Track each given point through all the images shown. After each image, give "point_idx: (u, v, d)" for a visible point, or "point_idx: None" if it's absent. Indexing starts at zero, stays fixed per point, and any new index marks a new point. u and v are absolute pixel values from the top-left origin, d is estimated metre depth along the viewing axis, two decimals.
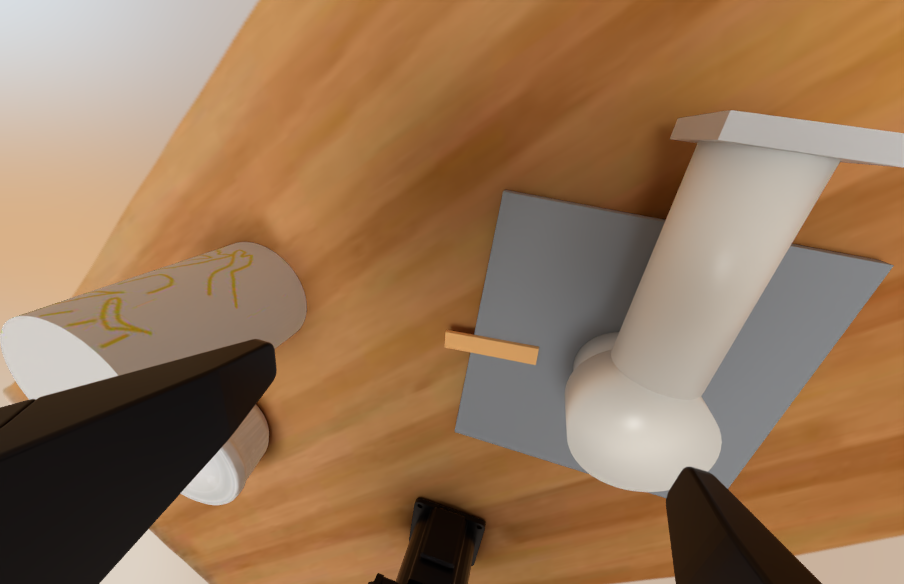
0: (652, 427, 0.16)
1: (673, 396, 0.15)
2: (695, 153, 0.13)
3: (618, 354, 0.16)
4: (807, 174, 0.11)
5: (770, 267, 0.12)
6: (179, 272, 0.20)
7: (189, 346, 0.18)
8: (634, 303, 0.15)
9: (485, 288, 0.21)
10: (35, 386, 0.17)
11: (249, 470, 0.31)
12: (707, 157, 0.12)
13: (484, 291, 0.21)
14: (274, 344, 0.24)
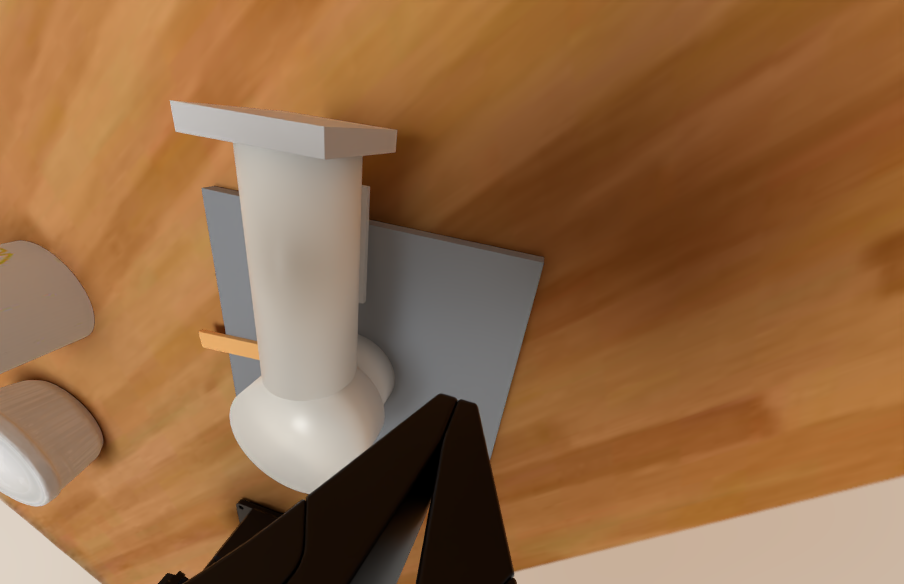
0: (293, 429, 0.15)
1: (285, 397, 0.14)
2: None
3: None
4: (278, 167, 0.10)
5: (305, 264, 0.12)
6: None
7: None
8: None
9: (219, 287, 0.21)
10: None
11: (66, 471, 0.31)
12: None
13: (219, 290, 0.21)
14: (39, 344, 0.24)
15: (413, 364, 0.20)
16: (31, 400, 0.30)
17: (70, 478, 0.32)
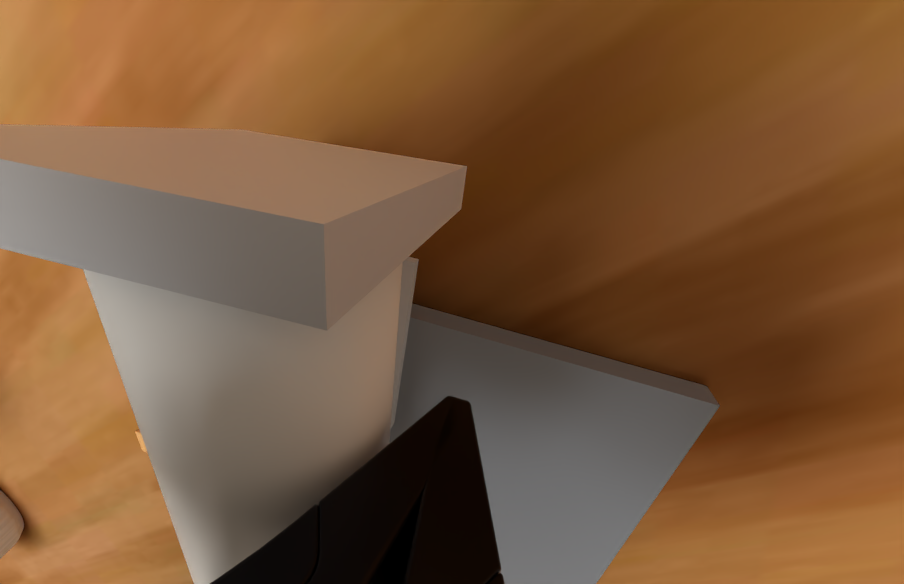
0: None
1: None
2: None
3: None
4: (187, 310, 0.04)
5: (282, 497, 0.05)
6: None
7: None
8: None
9: None
10: None
11: None
12: None
13: None
14: None
15: None
16: None
17: None
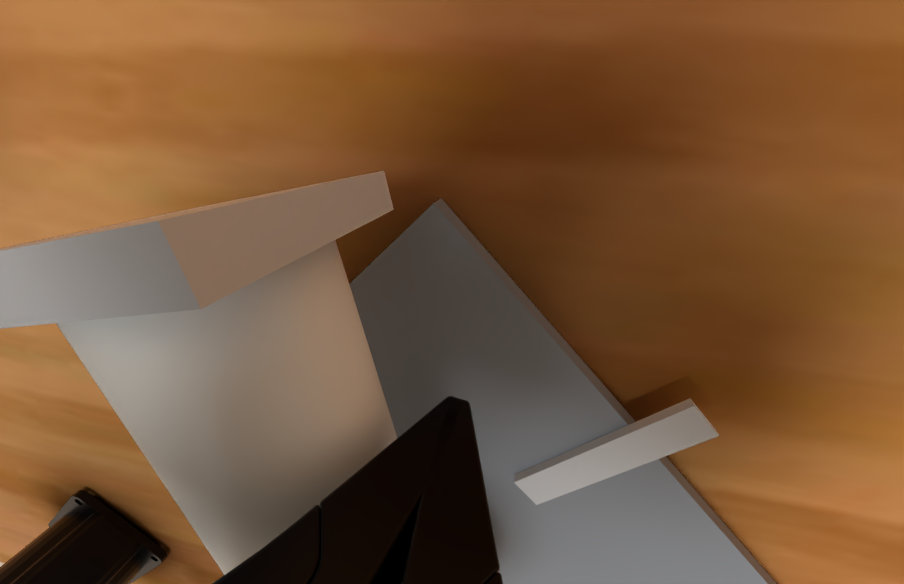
0: None
1: None
2: None
3: None
4: (137, 343, 0.04)
5: (282, 501, 0.05)
6: None
7: None
8: None
9: None
10: None
11: None
12: None
13: None
14: None
15: (518, 570, 0.14)
16: None
17: None
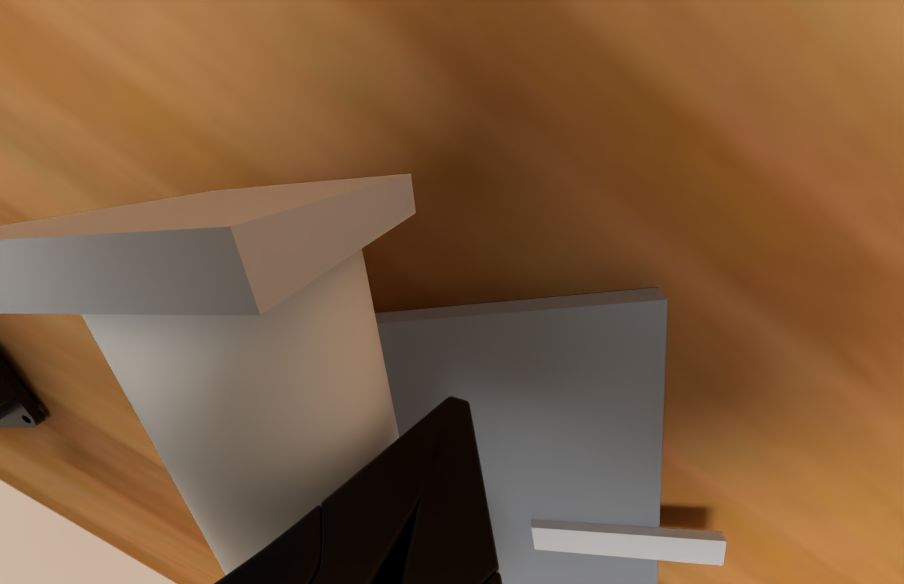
0: None
1: None
2: None
3: None
4: (169, 337, 0.04)
5: (294, 499, 0.05)
6: None
7: None
8: None
9: (444, 321, 0.10)
10: None
11: None
12: None
13: (437, 321, 0.10)
14: None
15: None
16: None
17: None
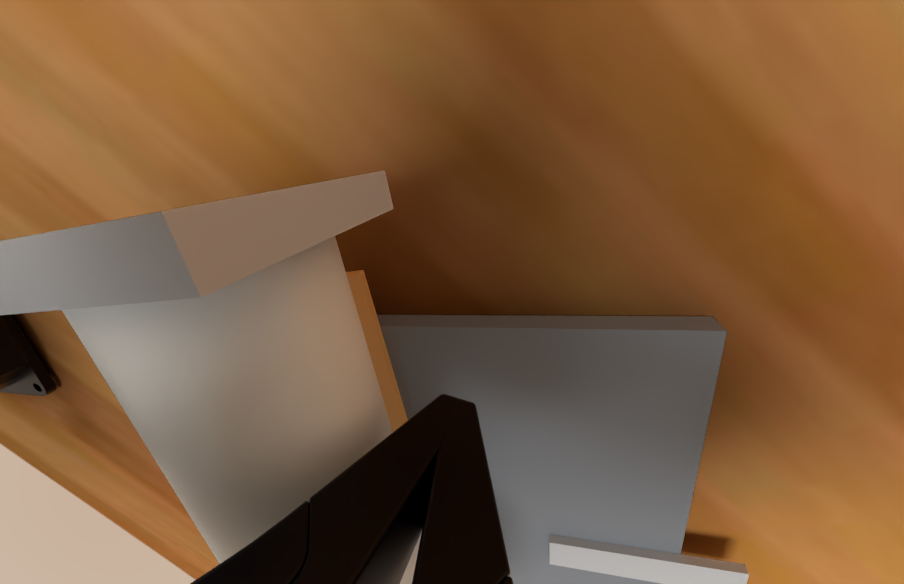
0: None
1: None
2: None
3: None
4: (140, 332, 0.04)
5: (277, 491, 0.06)
6: None
7: None
8: None
9: (490, 331, 0.10)
10: None
11: None
12: None
13: (482, 330, 0.10)
14: None
15: None
16: None
17: None
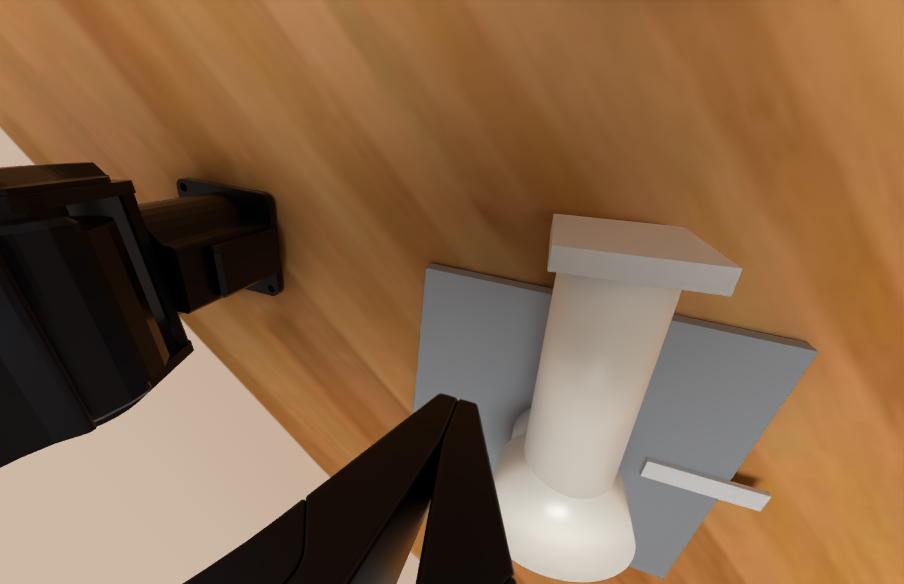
0: (564, 522, 0.15)
1: (574, 496, 0.14)
2: None
3: (526, 446, 0.16)
4: (646, 296, 0.10)
5: (637, 378, 0.12)
6: None
7: None
8: (533, 397, 0.15)
9: (672, 322, 0.16)
10: None
11: None
12: None
13: None
14: None
15: None
16: None
17: None
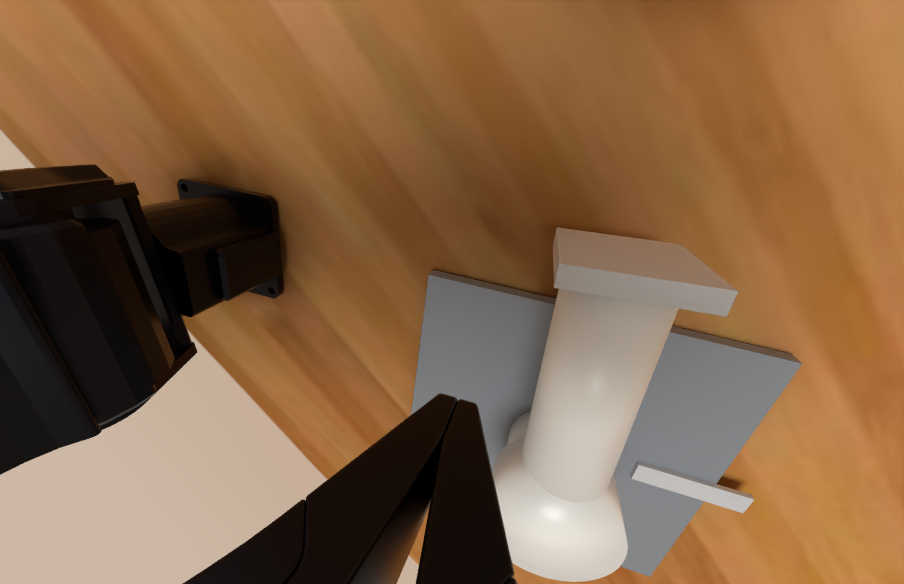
0: (560, 524, 0.16)
1: (571, 500, 0.15)
2: None
3: (524, 451, 0.16)
4: (646, 313, 0.11)
5: (635, 389, 0.12)
6: None
7: None
8: (532, 404, 0.16)
9: None
10: None
11: None
12: None
13: None
14: None
15: None
16: None
17: None
